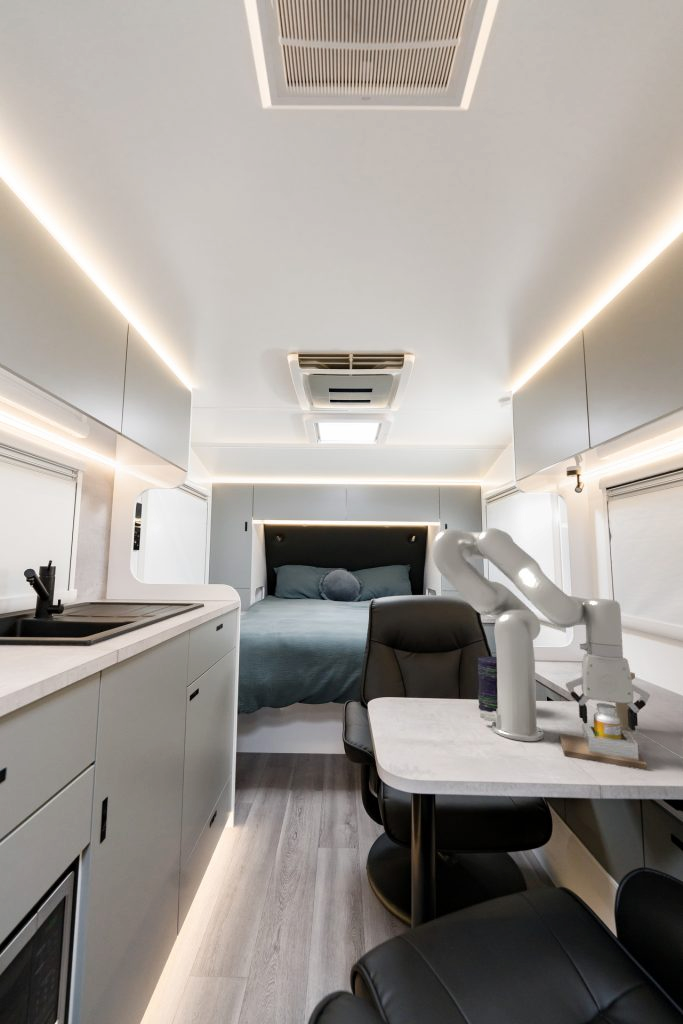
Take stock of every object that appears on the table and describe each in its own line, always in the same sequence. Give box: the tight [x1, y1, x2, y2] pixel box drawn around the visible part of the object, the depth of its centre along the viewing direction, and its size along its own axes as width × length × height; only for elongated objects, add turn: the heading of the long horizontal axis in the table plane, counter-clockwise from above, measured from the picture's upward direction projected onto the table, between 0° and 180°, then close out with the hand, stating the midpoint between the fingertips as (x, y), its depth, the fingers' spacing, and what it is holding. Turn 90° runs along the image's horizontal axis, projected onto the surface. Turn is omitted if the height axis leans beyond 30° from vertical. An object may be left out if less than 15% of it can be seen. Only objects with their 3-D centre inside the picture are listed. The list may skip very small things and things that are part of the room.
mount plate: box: [558, 732, 648, 771], centre depth 101 cm, size 16×12×1 cm
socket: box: [581, 723, 639, 761], centre depth 100 cm, size 10×10×4 cm
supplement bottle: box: [593, 702, 621, 739], centre depth 101 cm, size 5×5×10 cm
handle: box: [614, 671, 636, 731], centre depth 119 cm, size 5×6×15 cm
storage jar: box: [477, 655, 498, 712], centre depth 132 cm, size 10×10×15 cm
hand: (607, 725), depth 101 cm, fingers open, 9 cm apart
